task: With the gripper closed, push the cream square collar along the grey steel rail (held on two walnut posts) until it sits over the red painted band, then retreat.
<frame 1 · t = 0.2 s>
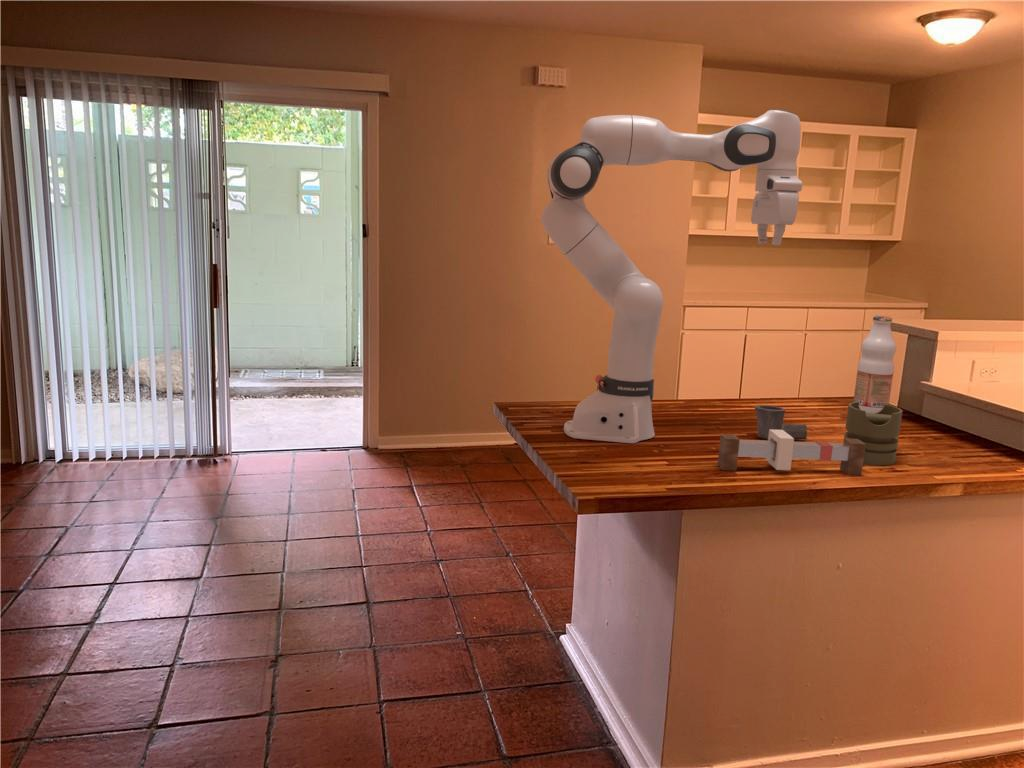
hand: (769, 244, 183), 47 cm above the countertop, tool pointing down, fingers open, 8 cm apart
posts: (788, 469, 169), on the countertop
pipe: (778, 439, 193), on the countertop
collar: (779, 449, 168), point 4 cm above the countertop, slide at -2.5 cm
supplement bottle: (883, 453, 185), on the countertop, touching piston
piston: (868, 458, 180), on the countertop, touching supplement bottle
fruit juice: (869, 412, 226), on the countertop
steel rail: (791, 449, 168), point 4 cm above the countertop
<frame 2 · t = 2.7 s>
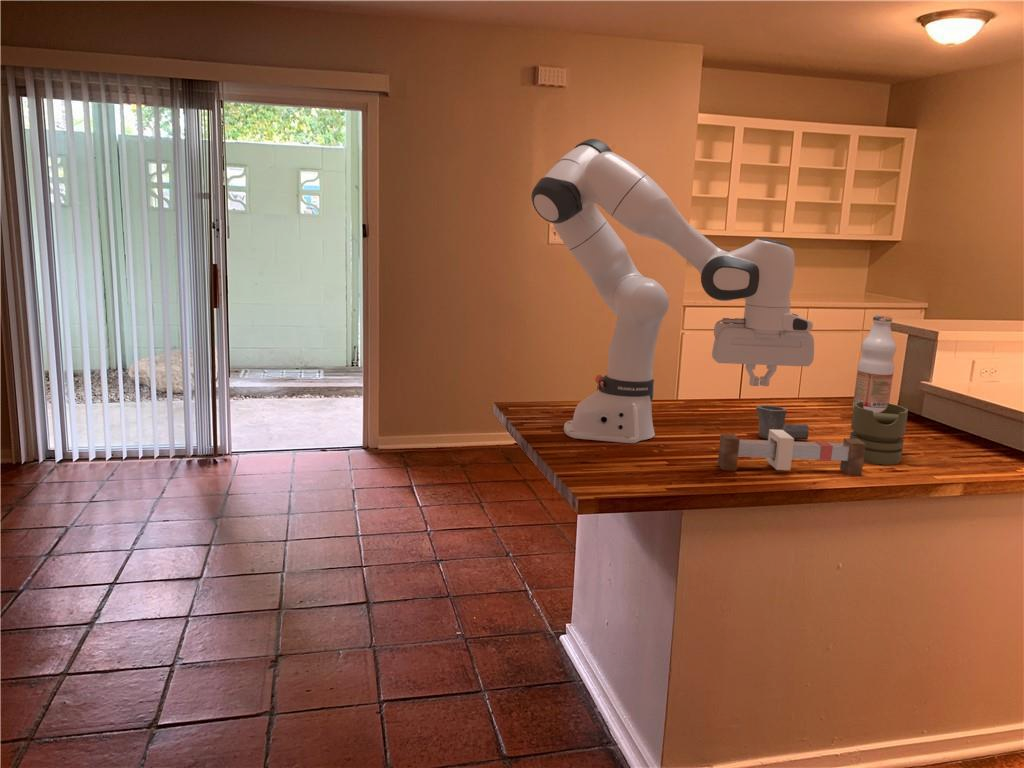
hand: (758, 385, 161), 19 cm above the countertop, tool pointing down, fingers closed
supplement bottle: (885, 452, 186), on the countertop, touching piston
piston: (873, 457, 180), on the countertop, touching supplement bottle
everything else where it was.
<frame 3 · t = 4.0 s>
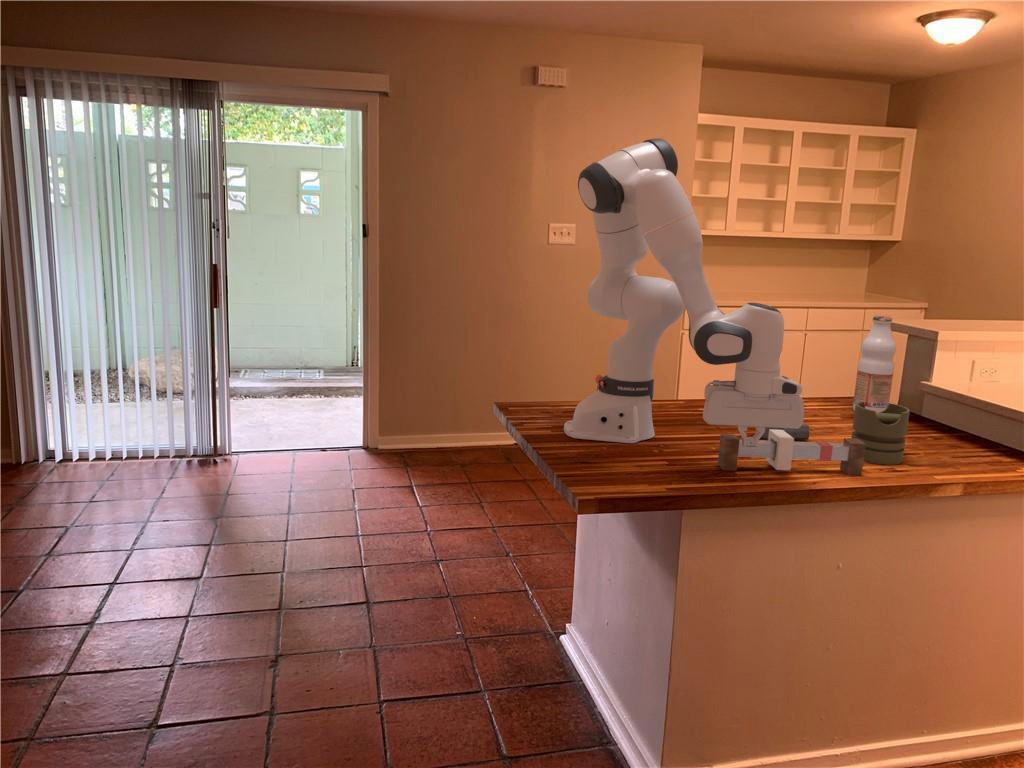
hand: (749, 446, 163), 6 cm above the countertop, tool pointing down, fingers closed
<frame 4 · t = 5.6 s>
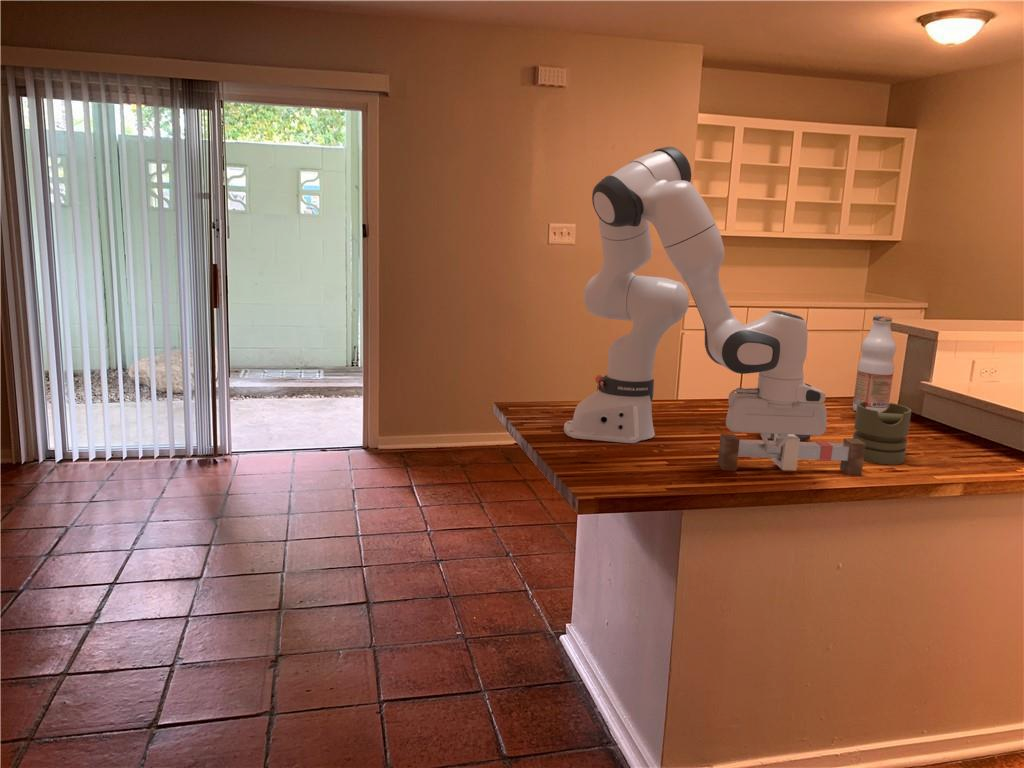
hand: (772, 453, 164), 5 cm above the countertop, tool pointing down, fingers closed
collar: (785, 449, 168), point 4 cm above the countertop, slide at -1.2 cm, touching gripper
piston: (877, 457, 181), on the countertop, touching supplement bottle
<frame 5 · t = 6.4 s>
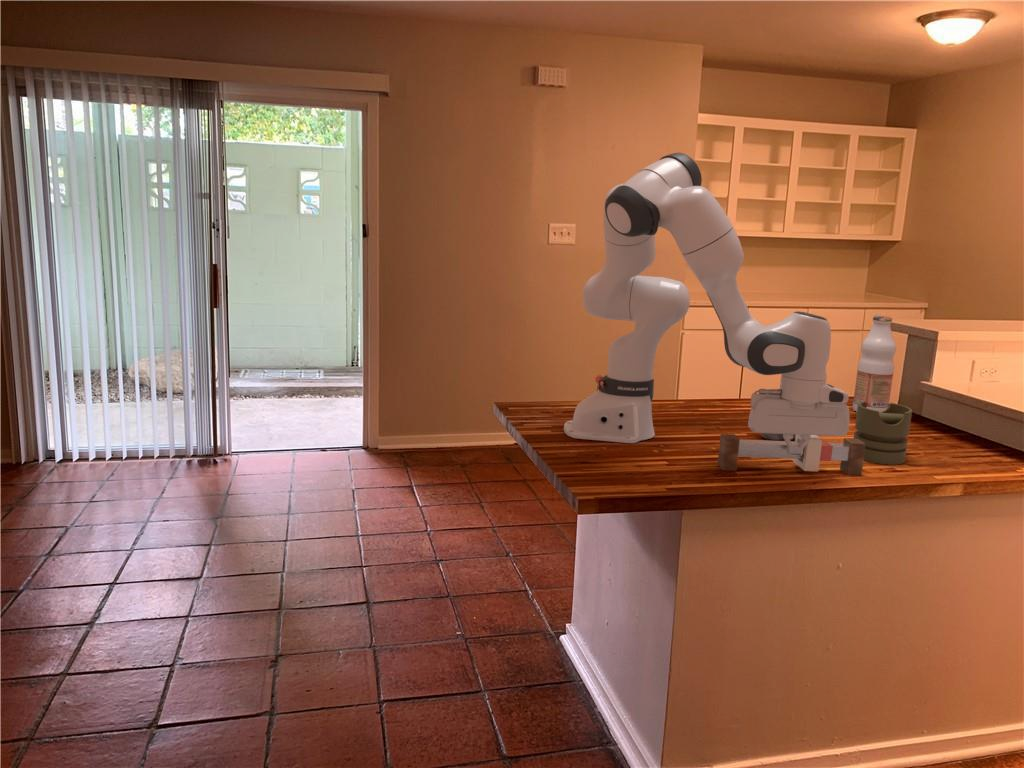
hand: (794, 454, 164), 5 cm above the countertop, tool pointing down, fingers closed
collar: (807, 450, 168), point 4 cm above the countertop, slide at 3.5 cm, touching gripper
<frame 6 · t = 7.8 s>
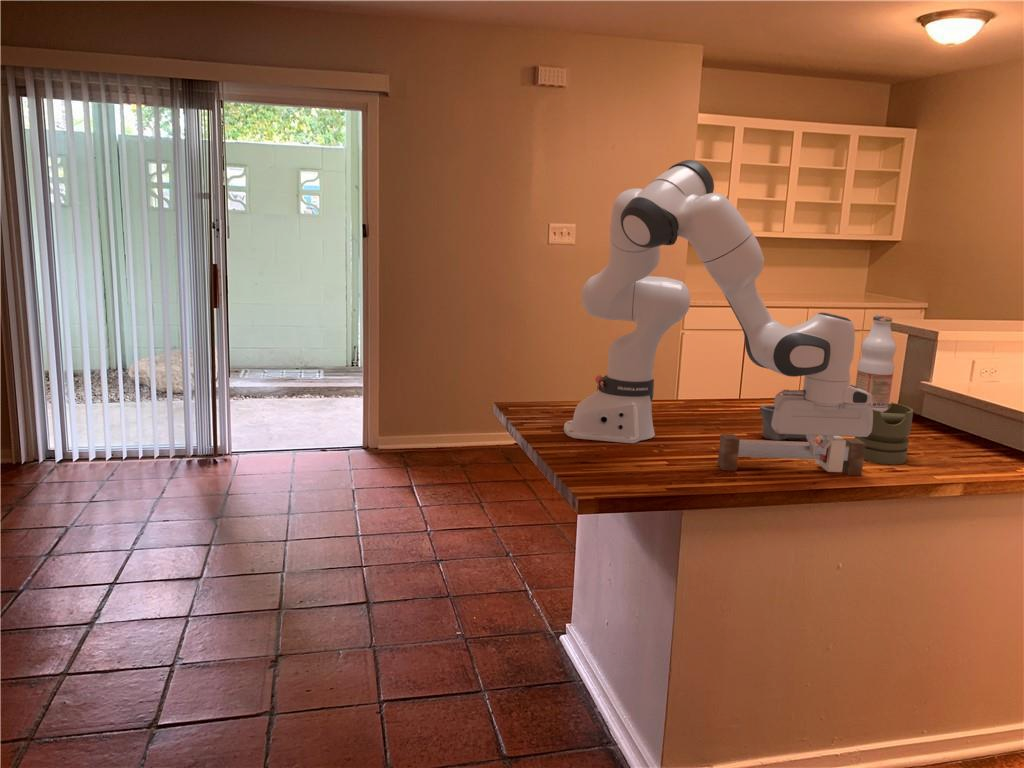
hand: (817, 454, 164), 5 cm above the countertop, tool pointing down, fingers closed
collar: (830, 451, 168), point 4 cm above the countertop, slide at 8.5 cm, touching gripper
piston: (878, 457, 181), on the countertop, touching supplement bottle
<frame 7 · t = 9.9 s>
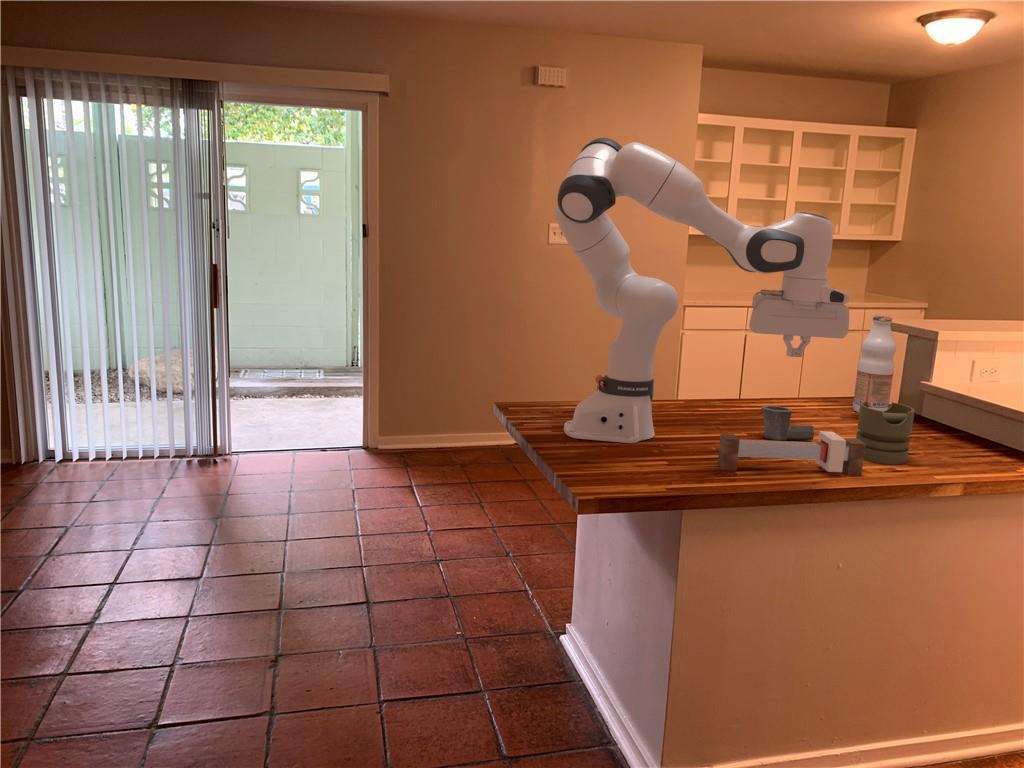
hand: (794, 356, 166), 25 cm above the countertop, tool pointing down, fingers closed
collar: (830, 451, 168), point 4 cm above the countertop, slide at 8.5 cm
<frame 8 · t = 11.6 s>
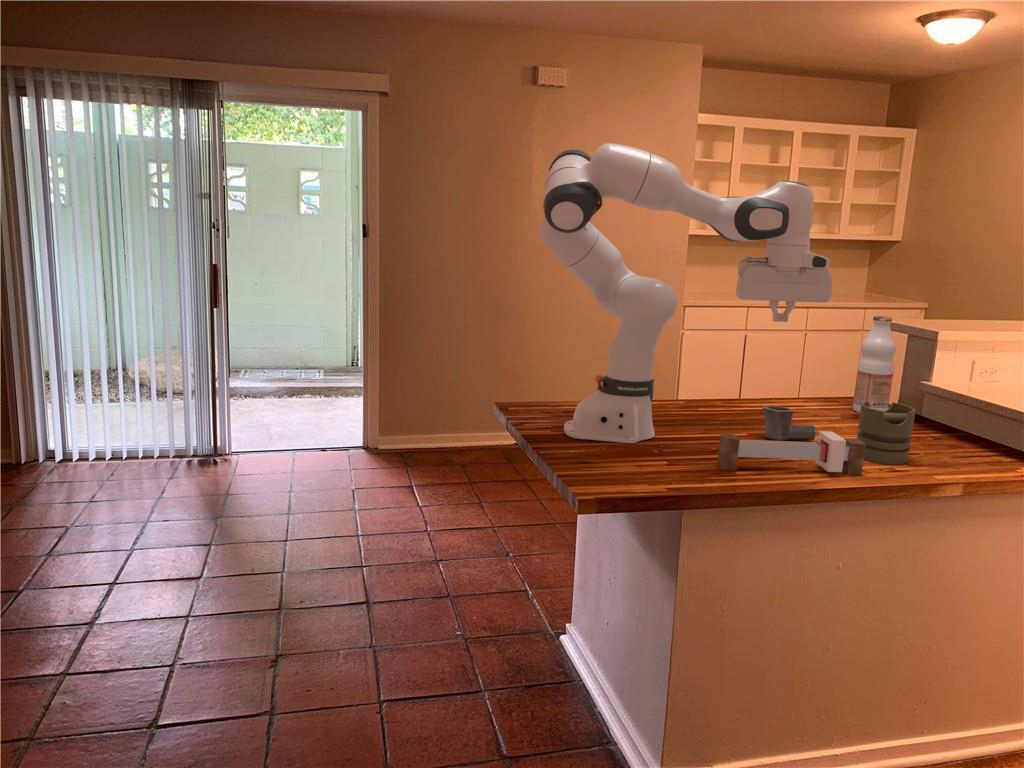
hand: (780, 321, 172), 31 cm above the countertop, tool pointing down, fingers closed
at the end: collar slide at 8.5 cm; the gripper is holding nothing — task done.
